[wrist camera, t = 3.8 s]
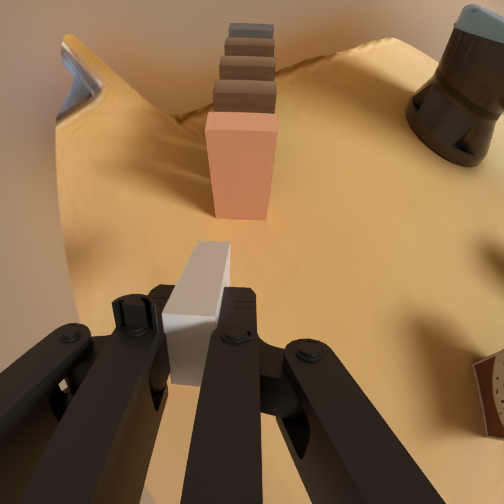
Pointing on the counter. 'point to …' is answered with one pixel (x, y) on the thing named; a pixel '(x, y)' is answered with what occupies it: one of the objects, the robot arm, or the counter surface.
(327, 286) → the counter surface
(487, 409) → the food container
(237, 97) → the domino
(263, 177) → the domino
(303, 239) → the counter surface
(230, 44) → the domino
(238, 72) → the domino
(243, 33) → the domino
